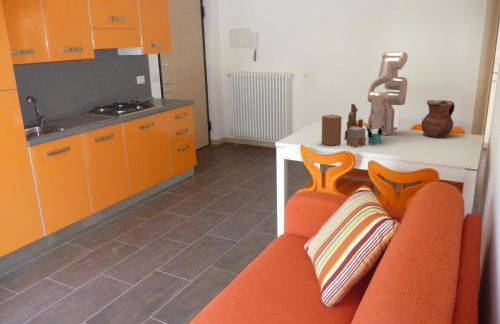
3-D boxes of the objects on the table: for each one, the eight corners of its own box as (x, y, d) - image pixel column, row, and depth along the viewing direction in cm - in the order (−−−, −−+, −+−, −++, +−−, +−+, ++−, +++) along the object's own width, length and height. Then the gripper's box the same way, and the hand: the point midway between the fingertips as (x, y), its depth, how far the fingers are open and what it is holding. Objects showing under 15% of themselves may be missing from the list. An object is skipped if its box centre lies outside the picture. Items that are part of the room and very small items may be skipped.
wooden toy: (353, 140, 294) (354, 106, 286) (344, 139, 298) (345, 105, 290) (362, 136, 304) (364, 102, 297) (354, 135, 309) (356, 102, 301)
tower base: (355, 143, 287) (356, 134, 285) (365, 145, 280) (365, 137, 278) (346, 145, 283) (346, 136, 281) (355, 147, 275) (356, 139, 274)
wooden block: (329, 146, 280) (330, 117, 274) (321, 143, 289) (321, 115, 283) (341, 144, 284) (342, 116, 279) (332, 141, 293) (332, 114, 287)
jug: (443, 140, 285) (447, 104, 278) (415, 135, 300) (417, 102, 293) (457, 134, 299) (461, 100, 291) (429, 130, 314) (432, 98, 307)
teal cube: (374, 141, 289) (374, 133, 287) (380, 143, 284) (381, 134, 282) (368, 143, 286) (368, 134, 284) (374, 144, 281) (375, 136, 279)
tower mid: (356, 134, 285) (356, 126, 283) (364, 137, 278) (365, 128, 276) (347, 136, 281) (348, 128, 279) (356, 138, 274) (356, 130, 272)
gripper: (380, 110, 285) (379, 134, 290) (363, 112, 277) (361, 137, 281) (389, 111, 279) (387, 135, 284) (371, 113, 271) (369, 138, 275)
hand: (374, 136), depth 283 cm, fingers open, 9 cm apart
